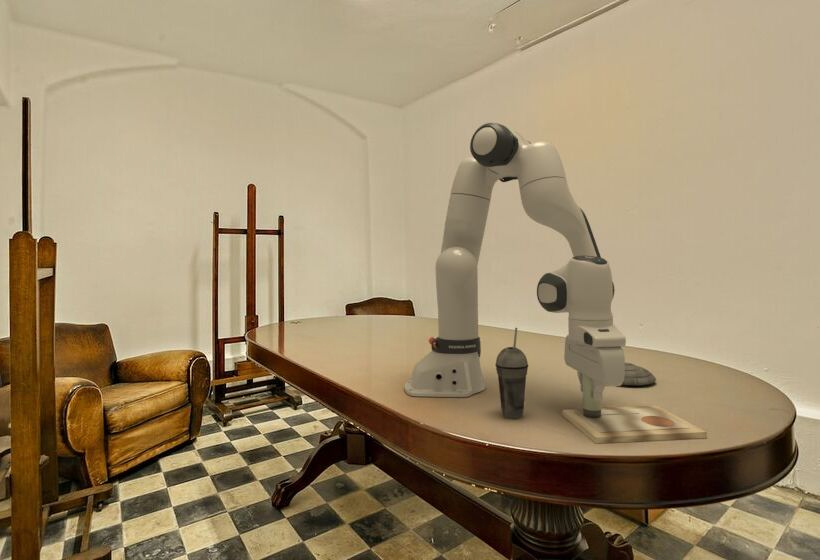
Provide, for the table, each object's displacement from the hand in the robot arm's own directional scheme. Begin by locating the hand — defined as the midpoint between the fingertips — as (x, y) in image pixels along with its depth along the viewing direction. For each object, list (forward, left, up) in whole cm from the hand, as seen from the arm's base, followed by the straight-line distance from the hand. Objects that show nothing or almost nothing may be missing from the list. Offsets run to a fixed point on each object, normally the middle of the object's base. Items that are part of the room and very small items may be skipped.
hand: (591, 396), depth 95 cm
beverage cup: (-15, +6, -6) cm, 18 cm away
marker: (0, 0, -4) cm, 4 cm away
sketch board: (+7, -3, -6) cm, 9 cm away
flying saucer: (+25, +30, -6) cm, 39 cm away
